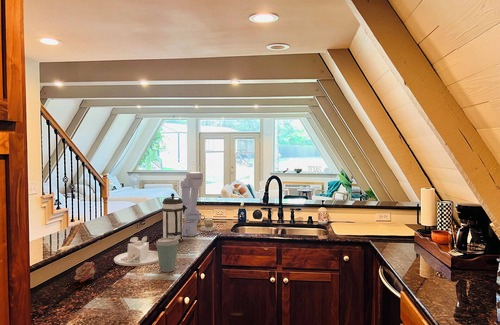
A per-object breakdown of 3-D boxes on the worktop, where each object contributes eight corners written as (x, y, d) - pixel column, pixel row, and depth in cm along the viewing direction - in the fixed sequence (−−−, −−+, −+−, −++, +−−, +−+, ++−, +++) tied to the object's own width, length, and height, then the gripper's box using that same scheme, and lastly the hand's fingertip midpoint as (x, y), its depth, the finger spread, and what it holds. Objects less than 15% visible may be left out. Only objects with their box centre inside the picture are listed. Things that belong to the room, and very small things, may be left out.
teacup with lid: (189, 226, 280) (189, 210, 280) (189, 223, 289) (189, 208, 289) (205, 225, 281) (205, 210, 281) (205, 223, 290) (205, 208, 290)
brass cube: (212, 226, 265) (212, 219, 265) (205, 227, 263) (205, 220, 263) (211, 225, 270) (211, 218, 270) (204, 225, 268) (204, 219, 268)
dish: (113, 255, 203) (113, 234, 203) (160, 251, 212) (160, 231, 211) (114, 268, 180) (113, 245, 180) (166, 263, 189) (166, 241, 188)
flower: (95, 271, 170) (84, 258, 167) (105, 271, 164) (94, 258, 162) (79, 288, 164) (67, 275, 161) (89, 288, 158) (77, 276, 155)
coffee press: (154, 242, 230) (154, 194, 229) (171, 237, 244) (171, 191, 243) (176, 245, 222) (176, 195, 221) (192, 240, 236) (192, 193, 235)
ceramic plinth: (210, 232, 261) (210, 228, 261) (200, 231, 264) (200, 227, 264) (216, 230, 268) (216, 226, 268) (206, 229, 272) (206, 225, 272)
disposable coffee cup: (156, 274, 171) (156, 242, 170) (155, 267, 181) (155, 236, 181) (179, 272, 174) (179, 240, 173) (177, 265, 184) (177, 235, 184)
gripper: (193, 198, 259) (193, 217, 260) (189, 195, 273) (189, 214, 273) (182, 198, 257) (183, 218, 257) (180, 196, 271) (180, 214, 271)
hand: (185, 216), depth 265 cm, fingers open, 7 cm apart
